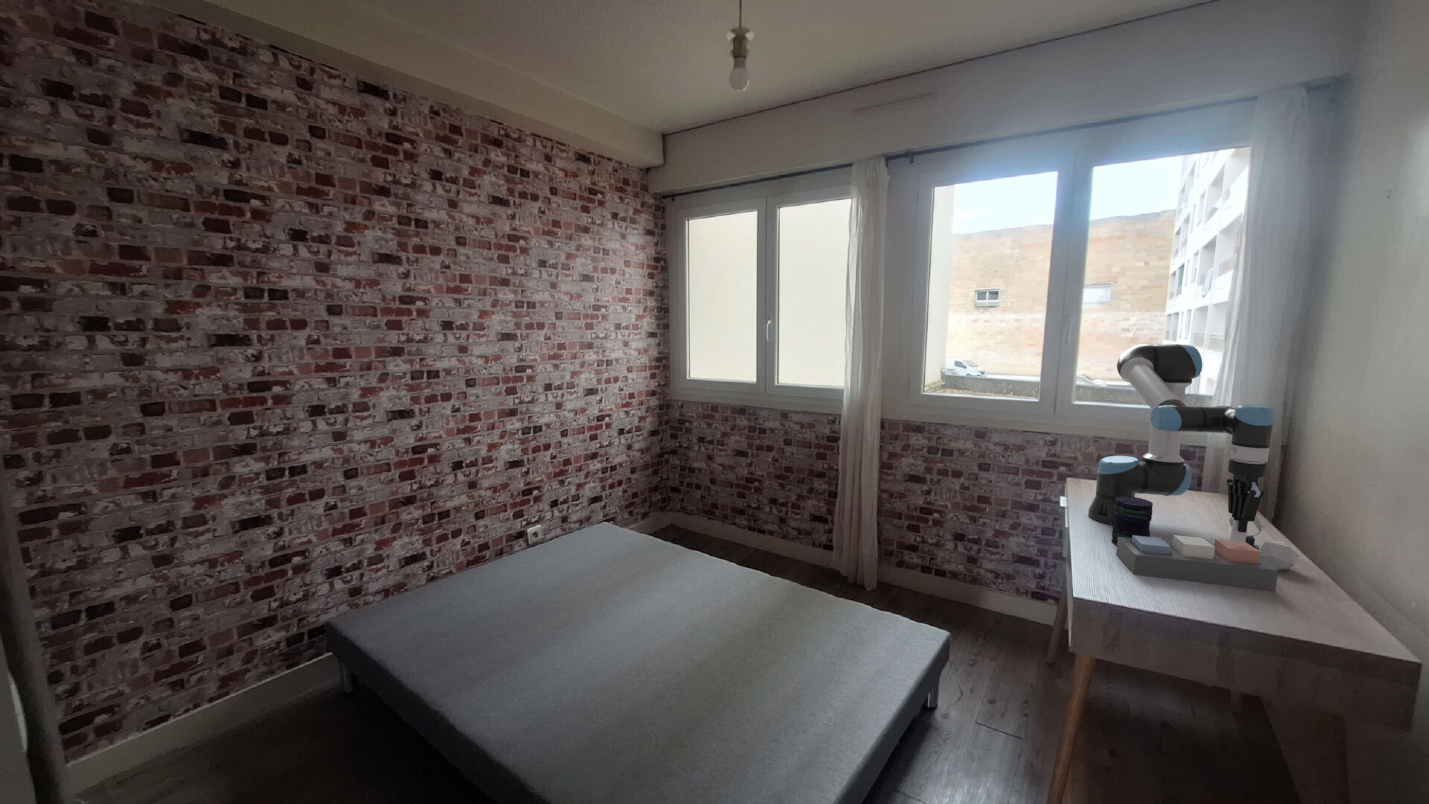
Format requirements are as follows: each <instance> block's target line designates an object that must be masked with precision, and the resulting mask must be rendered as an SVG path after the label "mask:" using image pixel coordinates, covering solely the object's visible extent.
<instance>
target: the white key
mask: <svg viewBox="0 0 1429 804" xmlns="http://www.w3.org/2000/svg"><path fill="white" fill-rule="evenodd" d="M1171 542H1172V548H1173V549H1174V550H1175V551H1176V552H1178V553H1179V554H1180V555H1181V556H1187V557H1196V558H1205V559H1213V558H1214V550H1215V547H1214V544H1211V543H1210V542H1209V541H1207V540H1206V539H1204V538H1203V537H1199V536H1197V537H1196V536H1186V535H1176V534H1172V541H1171Z"/></svg>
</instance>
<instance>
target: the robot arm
mask: <svg viewBox="0 0 1429 804" xmlns="http://www.w3.org/2000/svg"><path fill="white" fill-rule="evenodd" d="M1116 362H1117V363H1116V369H1117V373H1118V375H1119V376H1120V377H1121V379H1122V380H1123V381H1125V382H1127V383H1130V385H1132V387H1133V388H1134V390H1136V392H1137V393H1138V394H1139V396H1141V399H1142V400H1143V401H1144V402H1145V403H1146V404H1147V405H1148V407H1149V408H1150V409H1151V411H1150V412H1151V413H1150V428H1149V429H1150V430H1149V440H1148V441H1149V442H1148V452H1146V453H1145V454H1143V455H1142V461H1139V459H1138V458H1137V457H1134V456H1131V455H1130V456H1129V455H1128V456H1126V455H1111V456H1105V457H1103V458H1101V459H1100V460H1099V461H1098V466H1097V469H1096V471H1097V475H1096V485H1095V486H1096V488H1095V497H1094V498H1093V500H1092V502H1091V504H1090V506H1089V507H1088V511H1087V516H1088V517H1089V518H1091V519H1093V520H1095V521H1097V522H1101V523H1103V524H1108V525H1109V524H1110V525H1112V526H1113V525H1114V519H1115V515H1114V510H1115V509H1114V506H1115V502H1116V501H1115V500H1116V497H1119V496H1129V497H1136V494H1143V495H1158V496H1165V497H1169V496H1181V495H1183V494H1185V493H1186V492H1187V491H1188V489H1189V488H1190V486H1191V483H1192V470H1191V468H1190V467H1189V465H1188V464H1186V463H1185V459H1184V458H1183V457H1182V456H1181V455H1180V450H1181V441H1182V440H1181V439H1182V432H1189V433H1191V432H1194V433H1210V434H1211V433H1215V434H1217V433H1218V434H1229V435H1231V446H1230V447H1229V448H1228V450H1229V451H1230V454H1229V456H1230V457H1229V458H1231V459H1229V460H1228V469H1227V472H1229V474H1233V476H1232V478H1226V485H1227V500H1228V503H1227V505H1228V506H1227V507H1228V508H1227V509H1228V511H1227V512H1228V514H1232V517H1233V518H1232V519H1233V522H1232V526H1231V531H1230V538H1229V539H1230V540H1229V541H1232V542H1238V543H1245V541H1246V534H1247V533H1248V532H1247V531H1248V526H1249V525H1248V524H1249V522H1253V521H1254V520H1255V517H1256V516H1257V512H1258V510H1259V506H1260V504H1261V501H1262V498H1263V497H1264V495H1265V491H1264V490H1259V486H1260V483H1259V478H1264V477H1266V475H1267V468H1268V465H1267V462H1268V461H1269V454H1270V449H1271V448H1270V446H1271V445H1270V443H1271V437H1272V434H1273V433H1272V431H1273V426H1274V425H1273V424H1274V409H1273V408H1272V407H1271V406H1267V405H1261V404H1239V405H1237V406H1236V408H1235V407H1233V406H1229V405H1228V406H1227V405H1217V406H1187V405H1186V404H1185V397H1186V389H1187V388H1188V387H1189V386H1190V385H1191V384H1193V379H1196V378H1198V377H1199V376H1200V374H1201V373H1202V370H1203V358H1202V356H1201V353H1200V352H1199V350H1198V348H1196V347H1195V346H1193V345H1190V344H1181V343H1180V344H1179V343H1176V344H1172V343H1171V344H1169V343H1168V344H1147V343H1145V344H1137V345H1134V346H1132V347H1130V348H1128V349H1126V350H1125V351H1123V353H1122V354H1121V355H1120V357H1119V358H1118V360H1117V361H1116Z"/></svg>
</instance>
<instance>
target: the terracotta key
mask: <svg viewBox="0 0 1429 804" xmlns="http://www.w3.org/2000/svg"><path fill="white" fill-rule="evenodd" d="M1213 546H1214V547H1215V550H1214V552H1215V553H1216V554H1217V555H1219V556H1220V557H1221V558H1223V559H1224V560H1225V561H1233V562H1242V563H1251V564H1259V557H1260V551H1258V550H1259V549H1257V548H1256V547H1255V546H1254V547H1252V546H1251V545H1249V544H1248V543H1246V542H1245V543H1238V542H1232V541H1231V540H1226V539H1219V538H1218V539H1217V538H1215V539H1214V543H1213Z"/></svg>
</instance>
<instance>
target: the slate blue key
mask: <svg viewBox="0 0 1429 804" xmlns="http://www.w3.org/2000/svg"><path fill="white" fill-rule="evenodd" d="M1166 542H1167V541H1165V540H1163V539H1162V538H1161V537H1153V536H1149V537H1145V536H1135V535H1132V544H1133V545H1134V546H1135V547H1136V548H1137V549H1138V550H1139V551H1140V552H1150V553H1159V554H1168V555H1170V551H1171V547H1170V546H1169V545H1168V544H1167V543H1166Z"/></svg>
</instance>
